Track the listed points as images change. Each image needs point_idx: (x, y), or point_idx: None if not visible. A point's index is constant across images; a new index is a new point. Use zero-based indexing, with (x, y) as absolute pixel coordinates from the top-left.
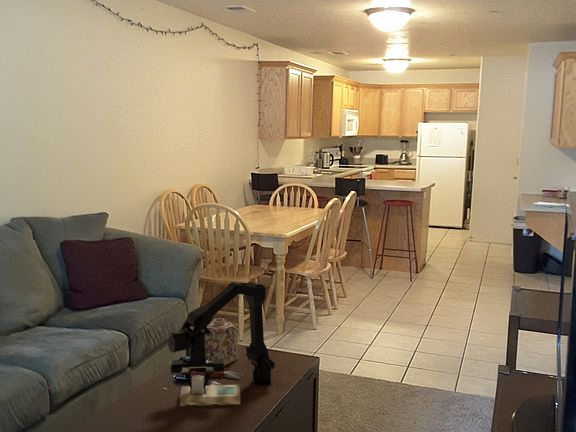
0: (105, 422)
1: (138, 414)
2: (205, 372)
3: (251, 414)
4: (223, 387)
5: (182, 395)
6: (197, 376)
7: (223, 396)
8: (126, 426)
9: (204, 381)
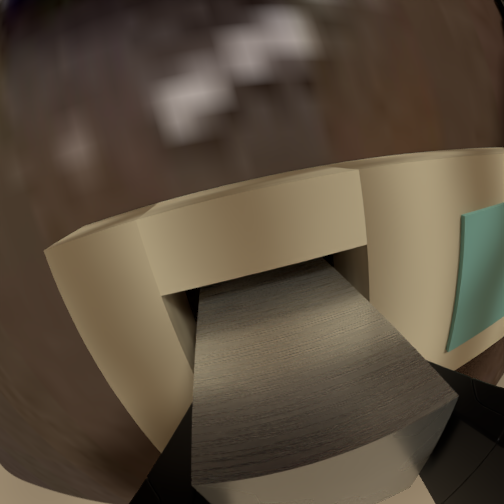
0: (22, 471)
1: (51, 456)
2: (494, 498)
3: (493, 366)
4: (494, 221)
5: (162, 435)
6: (325, 474)
7: (466, 362)
8: (85, 497)
9: None
